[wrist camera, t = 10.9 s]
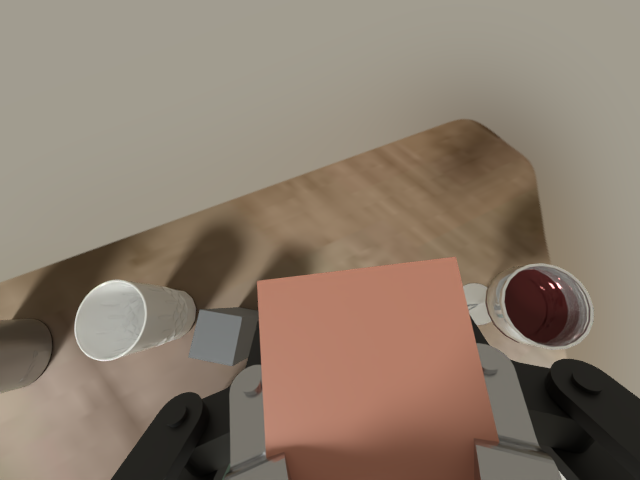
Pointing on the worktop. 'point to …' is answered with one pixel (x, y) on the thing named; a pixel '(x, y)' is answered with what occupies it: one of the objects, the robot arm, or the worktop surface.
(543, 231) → the worktop surface
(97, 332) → the white cup
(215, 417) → the robot arm
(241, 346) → the charcoal pillar
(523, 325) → the wineglass
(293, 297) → the red pillar
